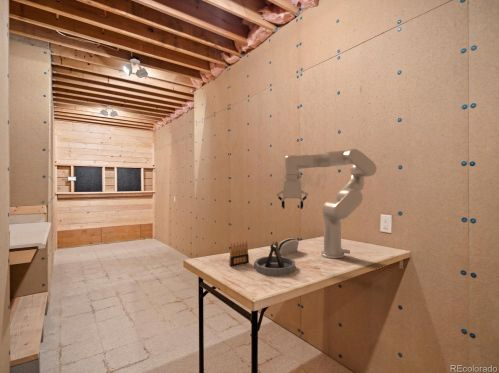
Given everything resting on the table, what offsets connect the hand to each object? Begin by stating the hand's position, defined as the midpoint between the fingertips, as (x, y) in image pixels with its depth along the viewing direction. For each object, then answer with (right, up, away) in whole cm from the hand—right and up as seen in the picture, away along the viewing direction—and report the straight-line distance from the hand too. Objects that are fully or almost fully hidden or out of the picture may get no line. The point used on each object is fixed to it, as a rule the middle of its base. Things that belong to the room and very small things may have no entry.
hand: (292, 208), depth 141 cm
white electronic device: (-1, -28, +12) cm, 31 cm away
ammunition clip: (-29, -29, -8) cm, 42 cm away
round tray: (-11, -29, -14) cm, 34 cm away
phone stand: (-11, -28, -14) cm, 33 cm away
